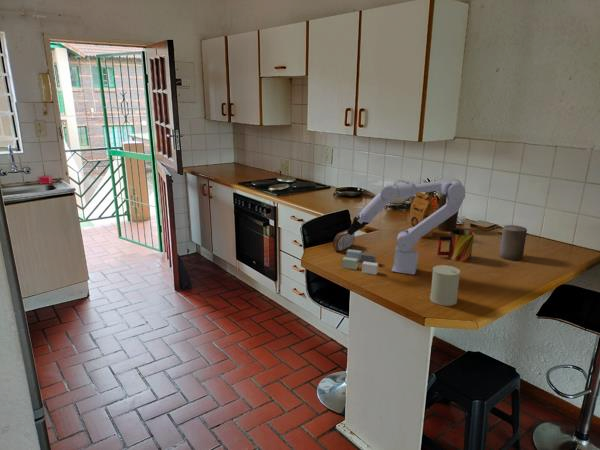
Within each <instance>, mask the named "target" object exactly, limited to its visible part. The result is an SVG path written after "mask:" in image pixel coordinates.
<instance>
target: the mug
mask: <svg viewBox="0 0 600 450" xmlns="http://www.w3.org/2000/svg"><path fill="white" fill-rule="evenodd" d="M474 237H475V233H474V232H473V231H471V230H468V229H463V228H462V229H461V228H459V229H457V228H456V229H454V230H451V231H450V235H449V236H448V235H444V236H443V235H439V237H438V243H437V244H438V246H437V253H436V254H437V256H447V257H448V259H450V260H452V261H454V262H460V263H461V262H463V263H465V262H469V261H471V260H472V253H473V244H474ZM442 241H449V245H448V251H441V249H442Z"/></svg>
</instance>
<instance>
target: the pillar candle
mask: <svg viewBox="0 0 600 450" xmlns="http://www.w3.org/2000/svg"><path fill="white" fill-rule="evenodd" d="M527 232H528V229H527V228H526V227H524V226H522V225H521V226H520V225H513V224H507V225H504V226H503V227H502V233H501V234H502V235H501V241H500V249H499V257H500V258H503V259H506V260H510V261H522V260H523V259H524V252H525V247H526V246H525V245H526V238H527Z"/></svg>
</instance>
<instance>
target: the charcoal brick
mask: <svg viewBox="0 0 600 450" xmlns="http://www.w3.org/2000/svg"><path fill="white" fill-rule="evenodd" d="M364 261H365V262H372V263H377V254H376V253H366V252H362V253H361V260H360V264H362V263H363V262H364Z"/></svg>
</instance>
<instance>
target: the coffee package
mask: <svg viewBox="0 0 600 450" xmlns="http://www.w3.org/2000/svg"><path fill="white" fill-rule="evenodd" d="M414 196H415V197H414V199H413V201H412V202H411V205H410V213H409V223H408V224H409V225H408V227H409V228H413V227H415V226H416V225H417V224H419V223H420V222H422V221H423V220H424V219H426V218H427V217H429V216H430V215H431V214H433V213H434V212H435V210H434V205H433V201H432V197H431V195H429V194H426V193H425V192H420V193H416V194H415V195H414ZM409 228H408V229H409ZM433 233H434V229H432V230H431V231H429V232H428V233H427V234H425V235H424V236H422V237H421V238H422V239H425V238H432V237H433ZM421 238H420V239H421Z"/></svg>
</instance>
